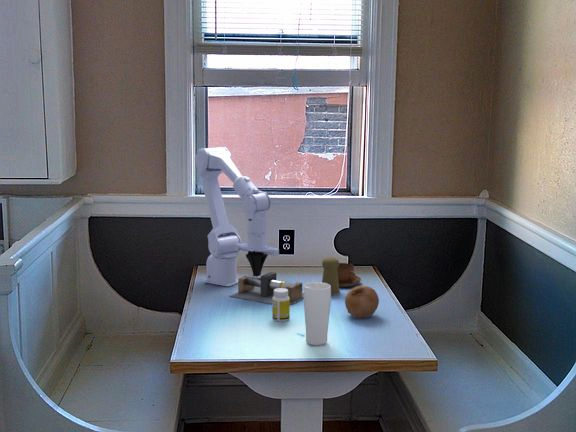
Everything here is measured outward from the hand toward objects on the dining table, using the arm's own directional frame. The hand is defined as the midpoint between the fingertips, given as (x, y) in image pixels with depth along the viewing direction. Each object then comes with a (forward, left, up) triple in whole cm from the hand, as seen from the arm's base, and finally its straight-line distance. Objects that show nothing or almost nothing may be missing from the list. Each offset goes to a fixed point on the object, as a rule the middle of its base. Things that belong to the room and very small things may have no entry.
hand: (257, 275), depth 224 cm
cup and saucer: (+18, +24, -6) cm, 30 cm away
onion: (+37, -3, -6) cm, 37 cm away
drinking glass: (+36, -28, -6) cm, 46 cm away
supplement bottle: (+19, -17, -6) cm, 26 cm away
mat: (+5, 0, -6) cm, 7 cm away
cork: (+19, +13, -6) cm, 23 cm away
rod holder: (+5, 0, -6) cm, 7 cm away
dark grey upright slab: (+4, 0, -6) cm, 7 cm away
